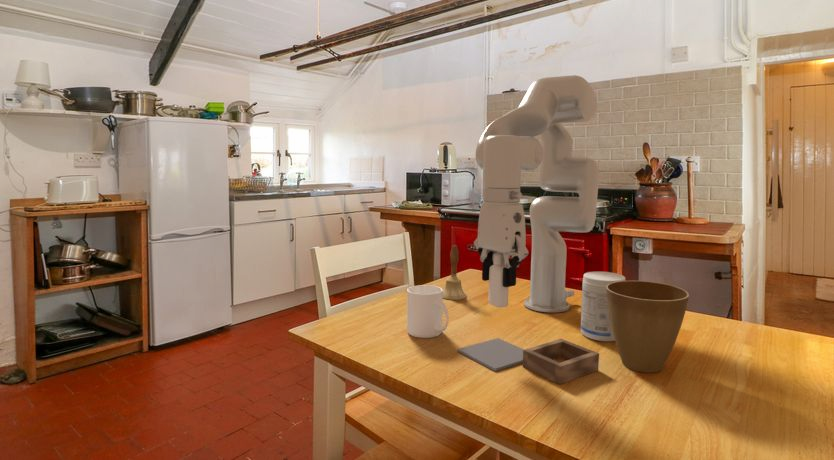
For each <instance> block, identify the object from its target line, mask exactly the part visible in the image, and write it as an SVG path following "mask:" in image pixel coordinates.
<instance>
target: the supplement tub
mask: <svg viewBox="0 0 834 460" xmlns="http://www.w3.org/2000/svg"><path fill="white" fill-rule="evenodd" d="M617 281H626V277H625V276H624V275H623V274H620V273H616V272H612V271H611V272H610V271H587V272H585V273H584V274H583V278H582V285H581V288H582V290H581V308H580V310H581V314H580V333H581V334H582V335H583V336H584V337H586V338H588V339H591V340H593V341H599V342H607V343H611V342H615V338H614V334H613V330H612V325H611V320H610V315H609V308H608V300H607V291H606V286H607V285H608V284H610V283H612V282H617Z"/></svg>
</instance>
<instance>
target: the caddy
mask: <svg viewBox="0 0 834 460" xmlns="http://www.w3.org/2000/svg"><path fill="white" fill-rule="evenodd" d="M560 358H562V359H563V360H564V361H562V362H559V361H557V360H558V359H560ZM599 361H600V352H596V351H594V350H591V349H589V348H586V347H583V346H581V345H579V344H576V343H574V342H571V341H569V340H565V339H563V338H559V339H557V340H552V341H549V342H546V343H543V344H538V345H536V346H532V347H528V348H526V349H524V350H523V363H522V367H523V368H525V369H527V370H528V371H530V372H531V371H532V372H533V373H535V374H537V375H539V376H542V377H543V378H545V379H548V380H550V381H551V382H554V383H556V384H557V385H563V384H565V383H568V382H570V381H573V380H575V379H577V378H581V377H584V376H586V375H589V374H591V373H595V372H596V371H599V365H600V364H599V363H600V362H599Z"/></svg>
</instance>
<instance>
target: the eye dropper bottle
mask: <svg viewBox="0 0 834 460" xmlns="http://www.w3.org/2000/svg"><path fill="white" fill-rule="evenodd" d="M492 261H493V264H494V265H492V266H490V269H489V280H488V295H487V296H488V303H489V304H490V305H492V306H493V307H495V308H507V307H508V306H509V288H510V287H503V268H505V267H506V266H505V261H504V256H503V253H499V252H495V254H494V258H493V260H492Z"/></svg>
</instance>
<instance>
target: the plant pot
mask: <svg viewBox="0 0 834 460" xmlns="http://www.w3.org/2000/svg"><path fill="white" fill-rule="evenodd" d="M606 291H607V300H608V308H609V315H610V320H611V325H612V330H613V334H614V338H615V341H614V342H615V344H616V347H617V351H618V354H619V357H620V360H621V362H622V365H624V366H625V367H626V368H628V369H631V370H633V371H635V372H641V373H658V372H660V371H662V370H663V368H664V366H665V364H666V362H667V361H668V358H669V357H670V354H671V353H672V350H673V348H674V345H675V343H676V341H677V338H678V336H679V334H680V331H681V327H682V324H683V322H684V317H685V314H686V311H687V306H688V303H689V298H690V294H689V291H687V290H686V289H683V288H681V287H680V286H679V287H678V286H676V285H673V284H669V283H663V282H657V281H650V280H649V281H648V280H625V281H617V282H612V283H610V284H608V285H607V286H606Z"/></svg>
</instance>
